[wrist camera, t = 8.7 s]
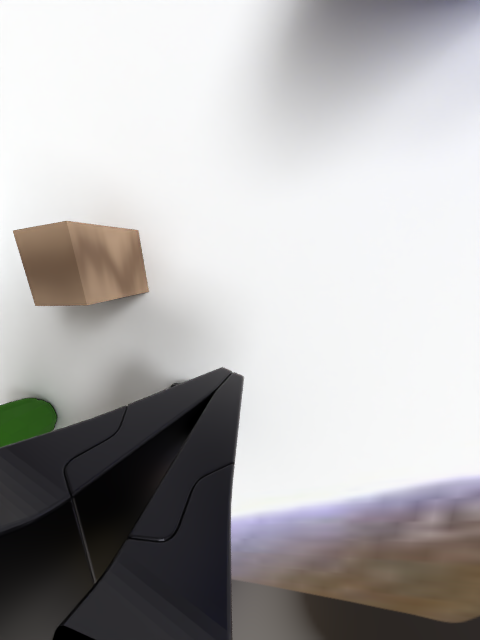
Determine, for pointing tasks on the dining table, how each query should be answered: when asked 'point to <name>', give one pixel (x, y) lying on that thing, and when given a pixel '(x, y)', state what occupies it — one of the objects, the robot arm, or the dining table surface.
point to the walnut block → (81, 263)
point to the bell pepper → (25, 420)
